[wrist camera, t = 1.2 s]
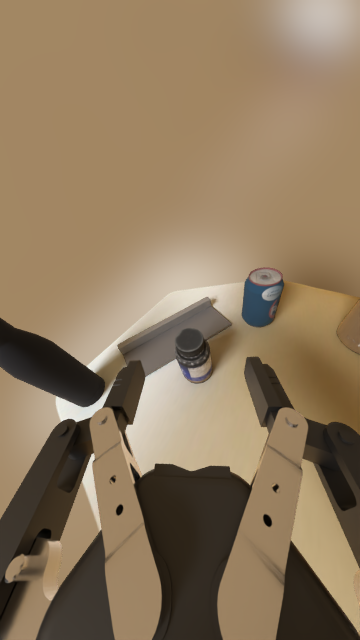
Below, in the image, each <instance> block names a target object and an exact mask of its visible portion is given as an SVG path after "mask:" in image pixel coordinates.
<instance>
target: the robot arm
mask: <svg viewBox="0 0 360 640" xmlns="http://www.w3.org/2000/svg"><path fill="white" fill-rule="evenodd" d="M337 335H338V337H339V339H340V340H341V342H342V343H343V344H344V345H345V346H347V347H348V348H349V349H351V350H352V351H354V352H356V353H358V354H360V300H359V301H358V302H357V303H356V305H355V306H354V307H353V309H352V310H351V311H350V312H349V314H348V315H347V316H346V317H345V319H344V320H343V321H342V323H341V324H340V325H339V327H338V329H337ZM244 374H245V379H246V382H247V385H248V389H249V392H250V395H251V398H252V401H253V404H254V407H255V410H256V413H257V416H258V419H259V422H260V425H261V427H267V429H268V432H269V434H268V437H267V440H266V443H265V446H264V448H263V451H262V454H261V457H260V460H259V462H258V465H257V468H256V470H255V473H254V476H253V479H252V481H251V484H250V485H249V484H248V483H247V482H246V481H245V480H244V479H242V478H241V477H240V476H238V475H236V474H235V473H232V472H230V467H229V466H208V467H205V468H202V469H199V470H196V471H188V470H186V469H183V468H181V467H178V466H176V465H173V464H155V468H154V469H153V470H151V471H149V472H147V473H145V474H144V475H143V476H142V474H141V471H140V469H139V466H138V464H137V462H136V460H135V457H134V455H133V452H132V449H131V446H130V443H129V440H128V437H127V434H126V431H125V430H126V427H127V425H133V421H134V417H135V414H136V410H137V407H138V403H139V399H140V396H141V392H142V389H143V385H144V381H145V372H144V369H143V366H142V363H141V361H140V360H130V361H129V363H128V366H127V367H125V368H123V369H122V370H121V371H120V372H119V373H118V375H117V377H116V380H115V382H114V384H113V386H112V388H111V390H110V393H109V395H108V397H107V399H106V401H105V404H104V406H103V408H102V409H100V410H98V411H97V412H96V413H95V414H94V415H93V416H92V417H91V418H88V419H85V420H82V421H79V422H75V421H74V420H73V419H67V420H64V421H62V422H61V423H59V424H58V425H57V426H56V427H55V428H54V429H53V431H52V432H51V434H50V436H49V438H48V439H47V441H46V443H45V445H44V446H43V448H42V450H41V451H40V453H39V455H38V456H37V458H36V460H35V461H34V463H33V465H32V467H31V468H30V470H29V472H28V473H27V475H26V477H25V478H24V480H23V482H22V483H21V485H20V487H19V489H18V491H17V492H16V494H15V495H14V497H13V499H12V501H11V502H10V504H9V506H8V508H7V509H6V511H5V512H4V514H3V516H2V518H1V519H0V640H360V631H359V633H358V632H357V630H356V629H355V627H354V626H353V624H352V623H351V621H350V620H349V619H348V617H347V616H346V615H345V613H344V612H343V610H342V609H341V608H340V606H339V605H338V604H337V602H336V601H335V600H334V598H333V597H332V595H331V594H330V593H329V591H328V590H327V589H326V587H325V586H324V585H323V583H322V582H321V580H320V579H319V578H318V576H317V575H316V574H315V572H314V571H313V570H312V568H311V567H310V565H309V564H308V563H307V561H306V560H305V559H304V557H303V556H302V555H301V553H300V552H299V551H298V549H297V548H296V546H295V545H294V544H293V542H292V541H291V535H292V530H293V524H294V519H295V513H296V508H297V502H298V497H299V491H300V486H301V480H302V469H301V463H302V458H303V459H306V460H308V461H311V462H313V463H314V466H315V468H316V470H317V472H318V475H319V477H320V479H321V481H322V484H323V486H324V488H325V491H326V493H327V495H328V497H329V500H330V502H331V504H332V506H333V509H334V511H335V513H336V516H337V518H338V520H339V522H340V525H341V527H342V529H343V531H344V534H345V536H346V538H347V541H348V543H349V545H350V547H351V550H352V552H353V554H354V556H355V559H356V561H357V563H358V566H359V568H360V435H359V434H358V433H357V432H356V431H354V430H353V429H352V428H350V427H349V426H347V425H345V424H342V423H339V422H331V423H329V424H328V425H324V424H321V423H318V422H314V421H311V420H308V419H306V418H305V417H303V416H302V415H301V414H300V413H299V412H298V411H296V410H295V409H294V408H293V406H292V404H291V402H290V401H289V399H288V397H287V395H286V393H285V391H284V389H283V387H282V385H281V384H280V382H279V380H278V378H277V376H276V374H275V372H274V370H273V369H272V368H271V367H270V366H269V365H268V364H262V362H261V360H260V358H259V357H247V359H246V365H245V371H244ZM93 453H94V455H95V460H94V461H93V465H92V466H93V474H94V481H95V488H96V494H97V501H98V508H99V514H100V521H101V528H102V529H101V531H100V532H99V533H98V535H97V536H96V538H95V539H94V540H93V542H92V543H91V544H90V546H89V547H88V549H87V550H86V551H85V553H84V554H83V555H82V557H81V558H80V560H79V561H78V562H77V564H76V565H75V566H74V568H73V569H72V571H71V572H70V573H69V575H68V576H67V577H66V579H65V580H64V582H63V583H62V585H61V586H60V587H59V589H58V582H57V580H58V571H59V569H60V566H61V559H62V546H61V543H60V542H59V541H60V538H61V536H62V533H63V530H64V527H65V525H66V522H67V519H68V516H69V513H70V511H71V508H72V506H73V503H74V500H75V497H76V494H77V492H78V489H79V486H80V484H81V481H82V478H83V476H84V473H85V470H86V468H87V465H88V462H89V459H90V457H91V454H93ZM354 588H355V593H356V596H357V599H358V603H359V606H360V570H358V571H357V572H356V574H355V576H354Z"/></svg>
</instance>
